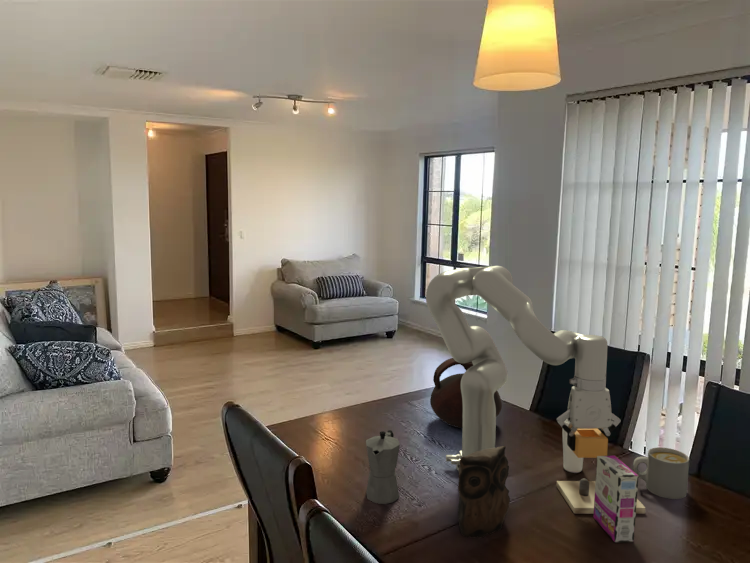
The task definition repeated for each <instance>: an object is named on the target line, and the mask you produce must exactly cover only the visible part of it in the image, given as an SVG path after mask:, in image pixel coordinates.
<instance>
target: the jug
mask: <svg viewBox="0 0 750 563" xmlns="http://www.w3.org/2000/svg"><path fill="white" fill-rule="evenodd" d="M457 365H460V366H462V367H463V369H464V370H465V371H466V370H468V369H469V368H470V367H472V366H474V365H473V363H472V361H471V362H468V363H458V362H457V361H455V360H454V359H453V357H451V358H450V357H449V358H448V359H446V360H444V361H442V362H441V363H440V364H439V365H438V366H437V367H436V369H435V370H434V374H433V383H434V384H433V385H434V387H433V389H432V391H431V394H430V398H429V399H430V401H429V402H430V407H431V409H432V411H433V413H434V414H435V416H437V418H438V419H439V420H441V421H442V422H444V423H445V424H447V425H449V426H451V427H454V428H460V429H462V428H463V401H462V393H461V379H462V376H463V374H464V373H465V372H464V373H455V374H452V375H449V376H447V377H444V378H443V379H441V376H442V374H444V372H445V371H447V370H448V369H450V368H451V367H454V366H457ZM500 395H501V394H499V390H497V391H496V392H494V402H495V407H496V418H497V417H498V415H500V413H501V411H502V407H503V402H502V399H501V396H500Z"/></svg>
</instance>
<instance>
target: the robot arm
mask: <svg viewBox="0 0 750 563" xmlns="http://www.w3.org/2000/svg"><path fill="white" fill-rule="evenodd" d="M513 283H514V280H513V276H512V273H511V272H510V270H508V269H507V268H506V267H504V266H501V265H491V266H490V265H489V266H479V267H461V268H456V269H451V270H447V271H442V272H440V273H438V274H437V275H435V276H434V277H433V278H432V279H431V280H430V282H429V283H428V285H427V288H426V291H425V302H426V306H427V309H428V311H429V313H430V315H431V317H432V319H433V321H434V322H435V324H436V326H437V328H438V330H439V333H440V334H441V335H440V336H441V337H442V339H443V341H444V344H445V345H446V348H447V349H448V352H449V354H450V356H451V358H453V359H454V360H455V361H457V362H458V363H468V362H471V361H472V363H473V365H474V366H472V367H470V368H469V369H468V370H465V371H464V374H463V376H462V379H461V393H462V401H463V428H461V430H462V434H461V435H462V438H461V450H459V453H456V454H445V461H446V462H450V464H451V465H456V467H455V468H456V470H457V472H459V467H460V459H461V458H462V457H463V456H464V457H465V456H467V455H469V454H471V453H473V452H476V451H482V450H484V449H490V448H496V432H497V431H496V429H497V428H496V425H497V417H496V407H495V402H494V392H496V391H499V390H500V389H501V388H503V387H504V385H506V382H507V381H508V374H509V373H508V370H507V366H506V363H505V361H504V359H503V357H502V356H501V353H500V351H499V349H498V347H497V346H496V343H495V342H494V339H493V337H492V336H491V334H490V333H489V332H488V331H487V330H486V329H485V328H483V327H481V326H478V325H469V323H468V320H467V318H466V316H465V314H464V313H463V311H462V309H461V308H460V307H459V306H458V304H456V300H457V299H460V298H463V297H468V296H479V297H480V298H481V299H482V300H484V302H485V303H487V304H488V305H490V307H492V309H494V310H495V311H496V312H497V313H499V315H501V317H503V318H504V319H505V320H506V321H507V322H509V324H510V326H511V328H512V330H513V332H514V333H515V334H516V336H517V337H518V339H519V341H521V343H522V344H523V345H524V346H526V348H527V349H528V350H529V351H530V352H531V353H533V354H534V355H535V356H537V357H538V359H539V360H541V361H543V362H544V363H546V364H548V365H551V366H560V365H562V364H565V362H567V361H568V360H570V359H575V363H574V375H573V378H569V381H568V383H569V385H573V386H571V390H570V393H569V398H568V404H567V410H566V411H565V412H563V413H562V414H560V415H559V416H558V417H556V422H557V423H558V425H560V427H561V428H563V429H564V430H565V431H566V432H567V445H568V446H569V447H570V449H571V450H572V451H575V440H576V437H575V436H574V434H575V432H576V430H577V429H599V430H600V431H601V432H602V433H603V434H604V435H605V436H606V437H607V438H608V439H609V437H610V436H611V433H612V432H613V431H614V430H615V429H617V426H618V425H619V424H620V423H621V418H619V417H618V416H617V415H615V414H614V413H612V404H611V403H612V402H611V395H610V394H611V393H610V390H609V389H608V388H607V387H606V384H607V362H608V341H607V339H606V338H605V337H604V336H601V335H597V334H596V335H595V334H583V333H579V332H574V331H572V330H568V329H567V330H566V329H561V330H557V331H555V332H554V333H553V332H552V331H551V330H549V329H548V328H547V326H545V325H544V324H543V323H542V322H541V321H540V320H539V319H538V317H537V315H536V314H535V312H534V305H533V301H532V300H531V298H530V297H529V296H528V295H526V293H524V292H523V291H522V290H520V289H519V288H518V287H517V286H515V285H514V284H513ZM566 419H568V421H569V422H570V423H569V425H568V426H567V425H566V424H565V423H564V421H565V420H566Z"/></svg>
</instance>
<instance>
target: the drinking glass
mask: <svg viewBox="0 0 750 563" xmlns="http://www.w3.org/2000/svg"><path fill="white" fill-rule="evenodd" d="M564 423H565V424H566V425H567V426H568V425H569V423H570V422H569V421H568V419H566V420H565V421H564ZM561 428H562V427H561ZM561 435H562V436H561V437H562V453H563V454H562V456H563V457H562V459H563V462H562V463H563V465H562V466H563V469H564V470H565V471H567V472H569V473H574V474H577V473H580V472H582V471H583V465H584V463H583V462H584V458H578V457H577V456H576V455H575V453H574V452H573V451H572V450H571V449H570V447H569V446H568V445H567V432H566V431H565V430H564V429H563V428H562V434H561Z"/></svg>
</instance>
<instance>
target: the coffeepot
mask: <svg viewBox="0 0 750 563" xmlns="http://www.w3.org/2000/svg"><path fill="white" fill-rule="evenodd" d="M394 436H395V434H394V433H393V430H391V429H388V430H387V431H383V430H382V431H379V435H374V436H372V437H369V438H368V439H366V440H365V445H366V451H367V458H368V464H369V465H368V466H369V473H368V479H367V484H366V485H367V486H366V490H365V493H366V499H367V500H368V501H369V502H371V501H372V502H371V503H374V504H377V503H378V505H388V504H391V503H394V502H396V501H397V500H398V499H399V498H400V493H399V486H398V481H397V474H396V468H397V466H398V459H399V453H400V452H399V451H400V445H401V444H400V442H399V438H396V437H394Z"/></svg>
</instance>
